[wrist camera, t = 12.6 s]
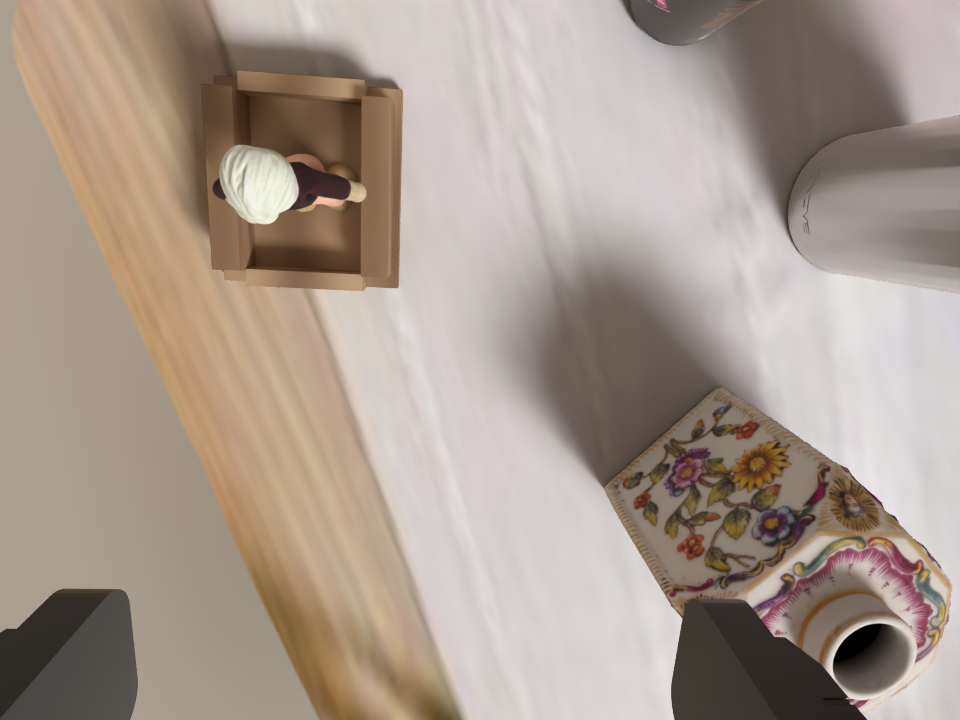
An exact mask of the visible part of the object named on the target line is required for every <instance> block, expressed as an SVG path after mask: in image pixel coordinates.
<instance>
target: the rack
mask: <svg viewBox="0 0 960 720" xmlns="http://www.w3.org/2000/svg"><path fill="white" fill-rule="evenodd" d="M201 89H202V106H203V123H204V140H205V158H206V175H207V192H208V209H209V226H210V244H211V261H212V269H216V270H224V280H236V281H246V286H267V287H289V288H310V289H331V290H352V291H363V290H364V289H365V288H366V287H382V288H398V287H399V251H400V205H401V160H402V114H403V91H402V90H401V89H388V88H375V87H368V86H367V84H366V82H365V81H364V80H359V79H346V78H332V77H319V76H306V75H292V74H279V73H266V72H253V71H239V70H237V77H227V76H214V85H209V84H201ZM236 145H248V146H252V147H258V148H267V149H271V150H274V151H276V152H278V153H280V154H281V155H282V156H284V157H285V158H287V157H289V156H292V155H296V154H309V155H312V156H314V157H316V158H317V159H318V160H319V161H320V162H321V164H322V165H323V167H324V169H325V171H326V172H327V171H328V170H329V169H330V168H331V167H332V166H334V165H345V166H348V167H350V168H351V169H353V170H354V171H355V173H356V174H357V178H358V183H361V184H362V185H364V187H365V188H366V193H367V194H366V197H365V199H364V200H363V201H361V202H354V201H352V202H351V204H350V206H349V207H348V208H347V209H346V210H343V211H338V210H335V209H332V208H330V207H329V206H327V205H325V204H316V206H315V207H314V209H313V210H311V211H307V212H300V211H297V210H285V211H283V212H281V213H279V215H278V218H277V219H276V220H275V221H274V222H272V223H270V224H259V223H250V222H248V221H246V220H245V219H244V218H242V217H241V216H239V214H238V213H237V212H236V210H235V208H234V207H232V206H231V205H230V204H229V203H228V202H227V201H226V200H222V199H219V198H218V197H217V196H215V195H214V193H213V190H212V189H213V184H214V182H215V181H216V180H217V179H218V178H220V176H219V169H220V163H221V161H222V159H223V157H224V155H225V154H226V152H227V151H228V150H229V149H230V148H231V147H233V146H236Z"/></svg>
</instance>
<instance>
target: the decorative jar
mask: <svg viewBox="0 0 960 720" xmlns="http://www.w3.org/2000/svg"><path fill="white" fill-rule="evenodd" d="M604 489H605V491H606V494H607V497H608V498H609V500H610V502H611V504H612V506H613V508H614V510H615V511H616V513H617V515H618V517H619V519H620V520H621V522H622V524H623V526H624V527H625V529H626V531H627V532H628V534H629V536H630V538H631V539H632V541H633V543H634V544H635V546H636V547H637V549H638V551H639V553H640V554H641V556H642V558H643V559H644V561H645V562H646V564H647V566H648V567H649V569H650V571H651V573H652V574H653V576H654V578H655V579H656V581H657V583H658V584H659V586H660V587H661V589H662V591H663V592H664V594H665V595H666V598H667V599H668V601H669V602H670V604H671V606H672V607H673V608H674V609H675V610H676V611H677V612H678V614H679V615H680V616H681V617H682V619H683V614H684V609H685V606H686V604H687V602H688V601H689V600H690V599H693V598H694V599H742V600H744V601H746V602H747V603H748V604H749V605H750V606H751V607H752V608H753V610H754V611H755V612H756V613H757V615H758V616H759V617H760V619H761V620H762V621H763V623H764V624H765V625H766V626H767V628H768V629H769V630H770V632H771V633H772V634H773V635H774V637H785V638H787V639H788V640H789V641H791V642H792V643H793V644H795V645H796V646H797V647H799V648H800V649H801V650H803V651H804V652H805V653H807V654H808V655H809V656H811V657H812V658H813V659H815V660H816V661H817V662H819V663H820V664H821V665H822V666H823V667H824V668H825V670H826V671H827V672H828V673H829V674H830V676H831V677H832V678H833V679H834V680H835V682H836V683H837V684H838V685H839V686H840V688H841V689H842V690H843V691H844V692H845V694H846V695H847V696H848V697H849V702H850V704H851V705H855V706H856V707H857V708H858V709H859V711H860V712H861V713H862V714H867V713H869V712H870V711H872V710H873V709H875V708H876V707H878V706H879V705H880V704H882V703H883V702H884V701H886V700H887V699H889V698H890V697H892V696H893V695H895V694H896V693H898V692H899V691H901V690H902V689H904V688H906V687H907V686H908V685H909V684H910V683H911V682H913V681H914V680H915V679H916V678H917V677H919V676H920V675H921V674H922V673H923V672H924V671H925V670H926V669H927V668H929V667H930V665H931V663H932V662H933V660H934V657H935V654H936V651H937V648H938V645H939V642H940V640H941V638H942V634H943V630H944V627H945V625H946V624H947V622H948V621H949V607H950V597H951V592H952V584H951V582H950V580H949V579H948V578H947V576H946V575H945V574H944V573H943V571H942V569H941V567H940V565H939V564H938V562H937V561H936V560H935V559H934V558H933V557H932V556H931V554H930V553H929V552H928V551H927V549H926V548H925V547H924V546H923V545H922V544H920V543H919V542H917V541H916V540H915V539H913V538H912V537H911V536H910V535H909V534H908V533H907V531H906V530H905V529H904V528H903V527H901V526H900V524H899V523H898V520H897V519H896V517H895V516H893V515H891V514H889V513H887V512H886V511H885V510H884V508H883V505H882V502H880V501H879V500H878V499H877V498H876V497H875V496H874V495H873V494H872V493H870V492H869V491H868V490H867V489H866V488H865V487H863V486H862V485H861V484H860V483H859V482H858V481H857V480H856V479H855V478H854V477H853V476H852V474H851V473H850V471H849V470H848V468H846V467H843V466H841V465H839V464H838V463H836V462H833V461H832V460H831V459H829V458H828V457H826V456H825V455H823V454H822V453H821V452H819V451H818V450H816V449H815V448H813V447H812V446H811V445H810V444H808V443H807V442H804V441H803V440H802V439H800V438H799V437H798V436H796V435H795V434H793V433H792V432H790V431H789V430H787V429H786V428H784V427H783V426H782V425H780V424H779V423H777V422H776V421H774V420H773V419H771V418H770V417H768V416H767V415H765V414H764V413H762V412H761V411H759V410H758V409H756V408H755V407H753V406H751V405H750V404H748V403H747V402H745V401H743V400H742V399H740V398H738V397H737V396H735V395H733V394H732V393H730V392H729V391H727V390H726V389H725V388H723V387H719V388H716V389H715V390H714V391H713V392H711V393H710V394H709V395H708V396H706V397H705V398H704V399H703V400H702V401H701V402H700V403H699V404H698V405H697V406H695V407H694V408H693V409H692V410H691V411H690V412H689V413H688V414H686V415H685V416H684V417H683V418H682V419H681V420H680V421H678V422H677V423H676V424H675V425H674V426H673V427H671V429H670V430H668V431H667V432H666V433H664V434H663V435H662V436H661V437H660V438H659V439H657V440H656V441H655V442H654V443H653V444H652V445H651V446H649V447H648V448H647V449H646V450H645V451H644V452H643V453H642V454H640V455H639V456H638V457H637V458H636V459H635V460H634V461H633V462H632V463H630V464H629V465H628V466H627V467H626V468H625V469H624V470H622V471H621V472H620V473H619V474H618V475H617V476H615V477H614V478H613V479H612V480H611V481H610V482H609V483H608V484H607V485H606V486H605V488H604Z"/></svg>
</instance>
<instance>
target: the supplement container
mask: <svg viewBox="0 0 960 720" xmlns="http://www.w3.org/2000/svg"><path fill="white" fill-rule="evenodd" d="M761 1H763V0H629V4H630V8H631V11H632V14H633V16H634V18H635V20H636V22H637V23H638V25H639V26H640V27H641V29H642V30H643V31H644V32H645V33H646V34H647V35H649V36H650V37H651V38H653V39H654V40H656V41H658V42H661V43H663V44H667V45H673V46H683V45H689V44H693V43H696V42H698V41H700V40H702V39H704V38H705V37H707V36H709V35H710V34H712V33H713V32H715V31H716V30H718V29H719V28H721V27H722V26H724V25H726V24H727V23H729V22H730V21H732V20H733V19H735V18H736V17H738V16H740V15H741V14H743V13H744V12H746V11H747V10H749V9H750V8H752V7H753V6H755V5H757V4H758V3H760V2H761Z"/></svg>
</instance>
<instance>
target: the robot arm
mask: <svg viewBox="0 0 960 720" xmlns="http://www.w3.org/2000/svg"><path fill="white" fill-rule="evenodd" d="M788 222H789V231H790V233H791V236H792V239H793V242H794V244H795V246H796V247H797V249H798V250H799V252H800V254H801V255H802V256H803V257H804V258H805V259H806V260H807V261H808V262H809V263H811V264H812V265H814V266H816V267H818V268H820V269H821V270H825V271H828V272H832V273H837V274H843V275H849V276H855V277H861V278H867V279H872V280H878V281H884V282H890V283H897V284H903V285H909V286H915V287H921V288H927V289H934V290H940V291H946V292H952V293H958V294H960V115H958V116H953V117H947V118H942V119H936V120H931V121H925V122H919V123H914V124H908V125H902V126H896V127H890V128H885V129H880V130H874V131H869V132H863V133H858V134H852V135H848V136H845V137H842V138H840V139H837V140H835V141H833V142H831V143H830V144H828V145H827V146H825V147H823V148H822V149H821V150H819V151H818V152H817V153H816V154H815V155H814V156H813V157H812V158H811V159H810V160H809V161H808V163H807V164H806V165H805V167H804V168H803V169H802V171H801V172H800V174H799V176H798V178H797V180H796V182H795V184H794V186H793V189H792V193H791V196H790V200H789V208H788ZM137 687H138V679H137V669H136V659H135V650H134V640H133V631H132V622H131V612H130V604H129V599H128V596H127V594H126V593H125V592H124V591H123V590H120V589H61V590H58V591H56V592H55V593H53V594H52V595H51V596H50V597H49V598H48V599H47V600H46V601H45V602H44V603H43V604H42V605H41V606H40V607H39V608H38V609H37V610H36V611H35V612H34V613H33V614H32V615H31V616H30V617H29V618H27V619H26V620H25V622H23V624H21V626H19V627H18V628H17V629H6V630H4V631H3V632H1V633H0V720H130V718H131V716H132V713H133V709H134V705H135V701H136V696H137ZM671 700H672V708H673V714H674V719H675V720H867V719H866V718H865V717H864V715H863V714H862V713H861V712H860V711H859V709H858V708H857V707H856V706H855V705H851V704H850V702H849V697H848V696H847V695H846V694H845V692H844V691H843V690H842V689H841V688H840V686H839V685H838V684H837V683H836V682H835V680H834V679H833V678H832V677H831V676H830V674H829V673H828V672H827V671H826V670H825V668H824V667H823V666H822V665H821V664H820V663H819V662H817V661H816V660H815V659H813V658H812V657H811V656H809V655H808V654H807V653H805V652H804V651H803V650H801V649H800V648H799V647H797V646H796V645H795V644H793V643H792V642H791V641H789V640H788V639H787V638H785V637H774V635H773V634H772V633H771V632H770V630H769V629H768V628H767V626H766V625H765V624H764V623H763V621H762V620H761V619H760V617H759V616H758V615H757V613H756V612H755V611H754V610H753V608H752V607H751V606H750V605H749V604H748V603H747V602H746V601H744V600H742V599H694V598H693V599H690V600H689V601H688V602H687V604H686V606H685V609H684V614H683V619H682V625H681V631H680V637H679V643H678V649H677V654H676V660H675V666H674V672H673V678H672V685H671Z"/></svg>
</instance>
